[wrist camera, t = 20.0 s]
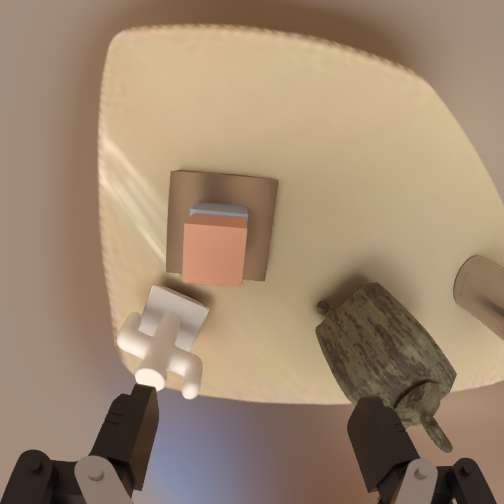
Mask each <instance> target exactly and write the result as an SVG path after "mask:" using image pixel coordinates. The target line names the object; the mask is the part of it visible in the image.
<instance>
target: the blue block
mask: <svg viewBox="0 0 504 504" xmlns="http://www.w3.org/2000/svg"><path fill="white" fill-rule="evenodd" d="M193 213H201V214H214V215H225V216H237V217H246V223H247V222H248V211H247V206H238V205H229V204H219V203H208V202H197V203H196V204H195V205H194V206H193V207H192V208H191V209H190V216H191V215H192V214H193Z"/></svg>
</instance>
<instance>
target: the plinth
mask: <svg viewBox="0 0 504 504" xmlns="http://www.w3.org/2000/svg"><path fill="white" fill-rule="evenodd" d="M277 185H278V181H277V180H275V179H270V178H262V177H253V176H243V175H233V174H222V173H210V172H197V171H182V170H177V171H171V176H170V189H169V205H168V224H167V254H166V272H170V273H180V274H182V272H183V242H184V223H185V222H186V221H187V220H188V219H189V218H190V209H191V208H192V207H193V206H194V205H195V204H196V203H197V202H208V203H219V204H229V205H238V206H247V211H248V222H247V238H246V247H245V257H244V267H243V276H242V279H243V280H255V281H265V277H266V270H267V263H268V255H269V248H270V240H271V233H272V225H273V217H274V209H275V201H276V194H277Z"/></svg>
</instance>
